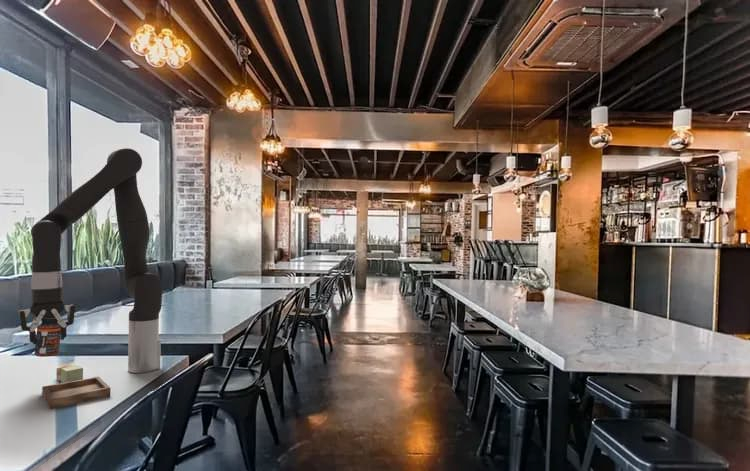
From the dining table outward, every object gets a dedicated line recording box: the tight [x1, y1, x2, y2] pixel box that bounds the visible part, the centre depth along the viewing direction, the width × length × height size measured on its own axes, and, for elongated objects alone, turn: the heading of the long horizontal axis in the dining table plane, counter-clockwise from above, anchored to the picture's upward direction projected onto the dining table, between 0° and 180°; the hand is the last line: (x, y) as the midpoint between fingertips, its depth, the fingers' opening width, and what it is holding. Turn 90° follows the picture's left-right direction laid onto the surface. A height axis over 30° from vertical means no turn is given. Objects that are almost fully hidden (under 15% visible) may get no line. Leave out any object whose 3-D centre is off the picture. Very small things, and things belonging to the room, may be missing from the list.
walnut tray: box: [41, 376, 111, 410], centre depth 127 cm, size 14×14×2 cm
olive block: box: [60, 364, 84, 383], centre depth 139 cm, size 4×4×4 cm
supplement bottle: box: [34, 318, 61, 358], centre depth 135 cm, size 6×6×11 cm
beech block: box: [55, 362, 77, 381], centre depth 144 cm, size 5×4×4 cm
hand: (48, 341), depth 135 cm, fingers closed on supplement bottle, 6 cm apart
